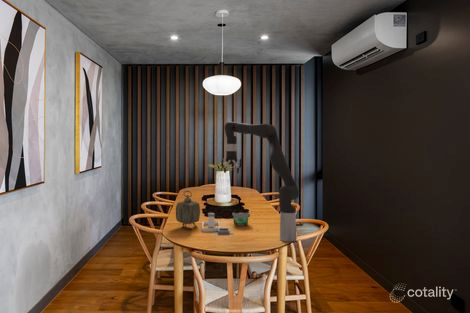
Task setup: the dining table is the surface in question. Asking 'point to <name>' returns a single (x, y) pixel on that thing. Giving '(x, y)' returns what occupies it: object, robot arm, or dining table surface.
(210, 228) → the parts tray
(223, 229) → the fuse block
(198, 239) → the dining table surface
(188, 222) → the tabletop clock
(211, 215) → the fuse
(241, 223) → the food container
